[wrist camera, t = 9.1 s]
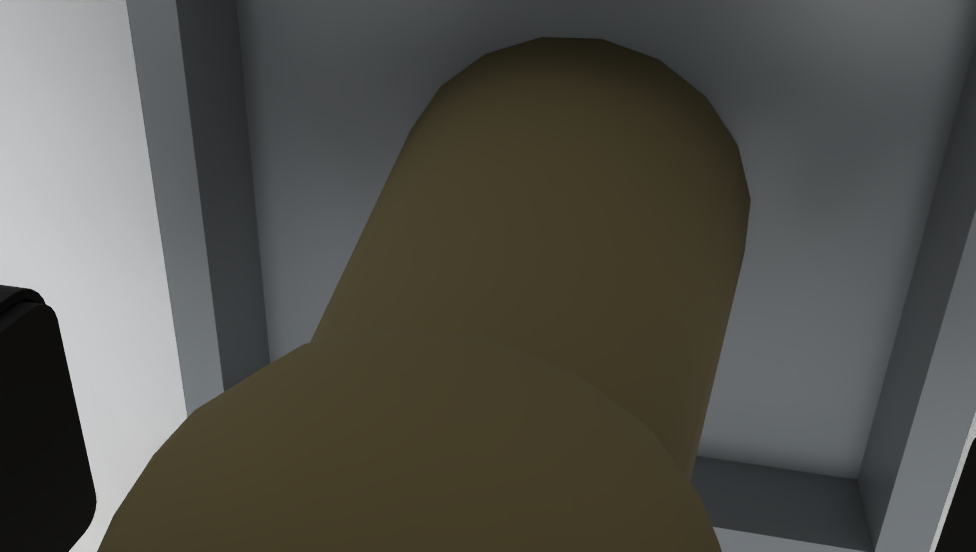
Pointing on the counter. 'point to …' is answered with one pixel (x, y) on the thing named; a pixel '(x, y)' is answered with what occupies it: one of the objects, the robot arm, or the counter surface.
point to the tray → (769, 242)
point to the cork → (492, 337)
